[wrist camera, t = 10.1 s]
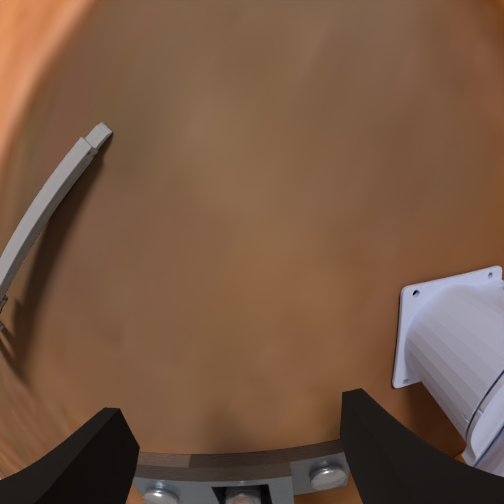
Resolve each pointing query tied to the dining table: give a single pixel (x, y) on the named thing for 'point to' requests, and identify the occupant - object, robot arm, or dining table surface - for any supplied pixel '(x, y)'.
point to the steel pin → (243, 494)
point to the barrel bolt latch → (241, 474)
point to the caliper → (48, 205)
